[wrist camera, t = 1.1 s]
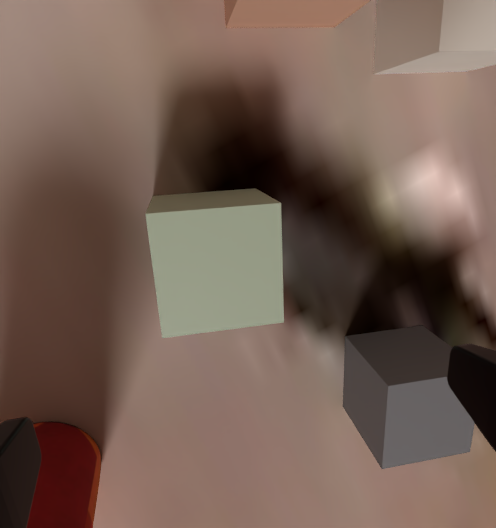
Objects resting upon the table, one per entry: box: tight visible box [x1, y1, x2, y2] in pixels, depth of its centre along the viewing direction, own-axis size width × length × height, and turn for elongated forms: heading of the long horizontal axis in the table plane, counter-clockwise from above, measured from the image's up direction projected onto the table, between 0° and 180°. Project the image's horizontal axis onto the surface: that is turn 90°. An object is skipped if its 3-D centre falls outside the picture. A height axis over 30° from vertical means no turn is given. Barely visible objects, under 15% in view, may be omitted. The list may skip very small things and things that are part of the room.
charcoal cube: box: [343, 325, 474, 469], centre depth 21 cm, size 5×5×5 cm
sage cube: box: [145, 188, 284, 338], centre depth 17 cm, size 5×5×5 cm
